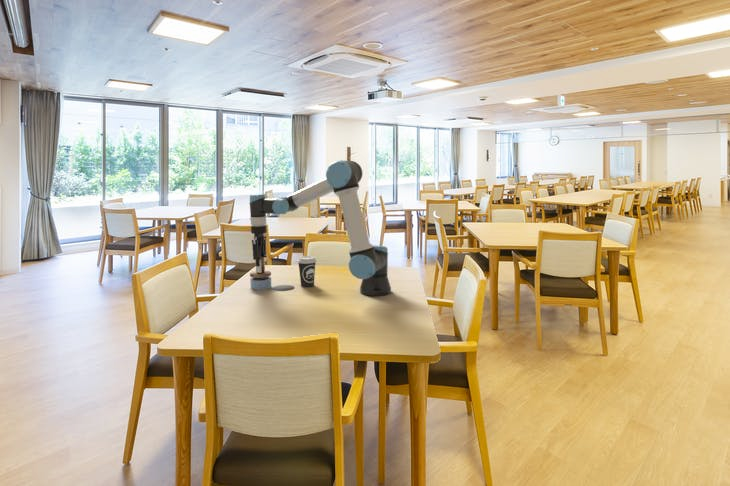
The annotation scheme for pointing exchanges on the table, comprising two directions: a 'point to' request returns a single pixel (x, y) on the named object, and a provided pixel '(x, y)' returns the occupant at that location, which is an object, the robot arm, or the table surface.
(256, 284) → the bowl
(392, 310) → the table surface
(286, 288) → the mat
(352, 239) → the robot arm
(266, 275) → the lid
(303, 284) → the coffee cup
